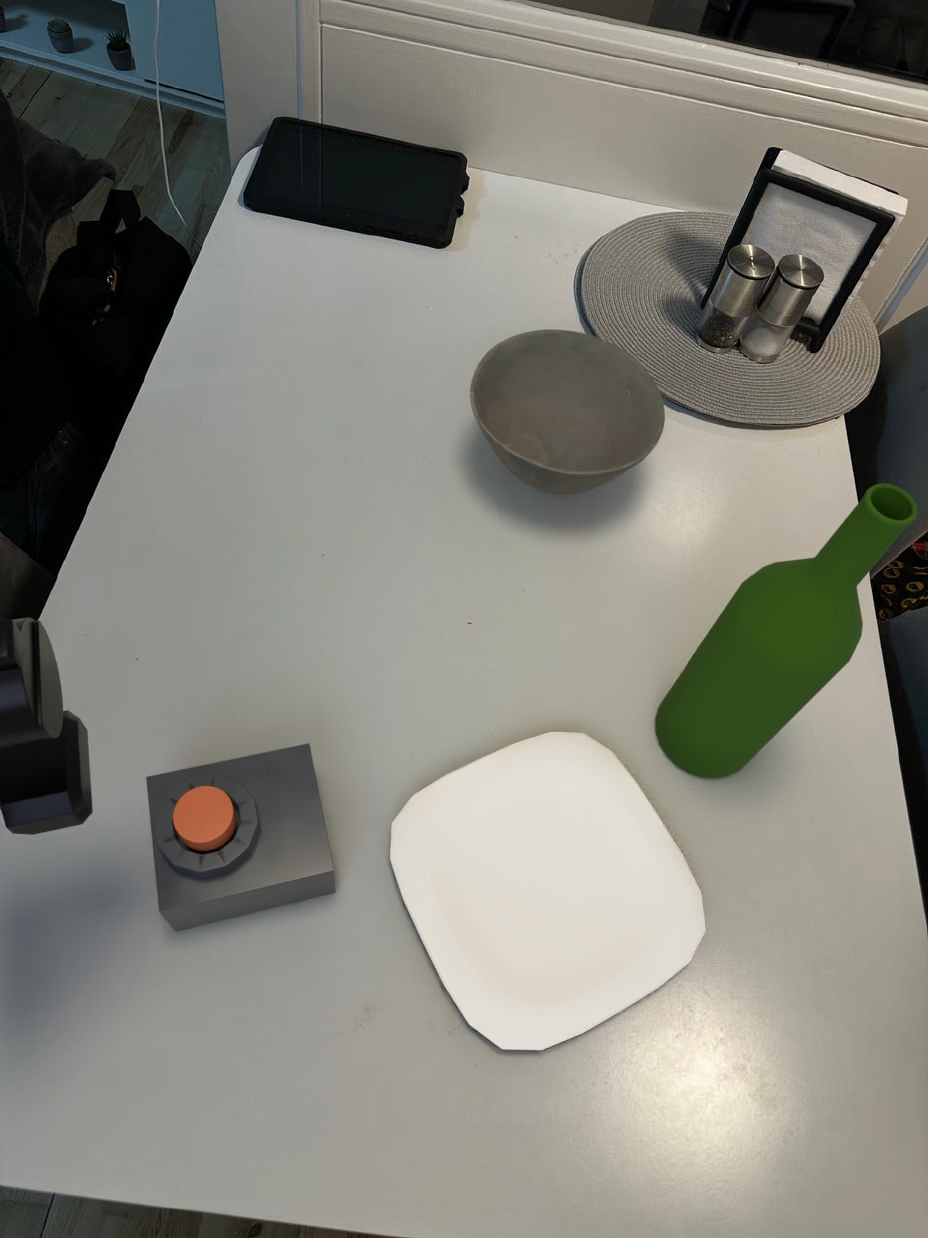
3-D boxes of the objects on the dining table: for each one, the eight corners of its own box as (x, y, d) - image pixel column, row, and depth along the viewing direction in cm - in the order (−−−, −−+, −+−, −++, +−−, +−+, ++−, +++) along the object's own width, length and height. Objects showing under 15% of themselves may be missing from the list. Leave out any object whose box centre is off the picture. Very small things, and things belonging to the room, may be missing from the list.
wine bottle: (723, 677, 81) (913, 432, 54) (770, 765, 77) (1001, 548, 49) (637, 700, 79) (788, 457, 51) (680, 792, 75) (869, 581, 47)
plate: (586, 714, 78) (590, 706, 76) (731, 944, 69) (739, 940, 67) (361, 818, 71) (361, 811, 69) (489, 1089, 62) (492, 1088, 60)
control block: (175, 932, 65) (154, 906, 58) (161, 804, 70) (140, 767, 63) (336, 892, 68) (333, 863, 61) (312, 772, 72) (308, 733, 66)
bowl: (437, 415, 94) (445, 342, 86) (596, 389, 99) (619, 317, 91) (494, 554, 86) (509, 488, 77) (666, 518, 90) (698, 452, 82)
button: (181, 857, 60) (176, 848, 59) (175, 802, 62) (169, 792, 61) (240, 843, 61) (236, 835, 60) (232, 790, 63) (228, 780, 61)
